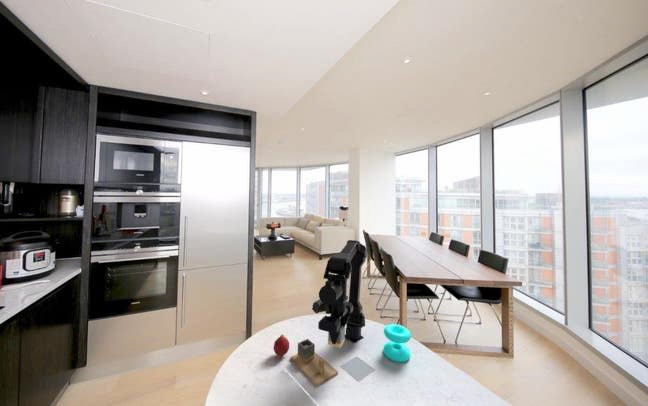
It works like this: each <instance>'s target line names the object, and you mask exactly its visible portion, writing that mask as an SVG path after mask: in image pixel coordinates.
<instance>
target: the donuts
mask: <svg viewBox="0 0 648 406" xmlns="http://www.w3.org/2000/svg"><path fill="white" fill-rule="evenodd" d="M383 333H384V336H385V338H386V339H388V341H387V342H385V344H384V345H383V348H382V350H383V354H384V355H385V356H386V357H387V358H388V359H389V360H391V361H393V362H397V363H404V362H407V361H408V360H410V357H411V351H410V349H409V348H408V347H407V346H406V345H405V344H406V343H408V342H409V341H410V340H411V338H412V335H411V332H410V330H409V329H408V328H406V327H405V326H403V325H401V324H396V323H391V324H388V325H386V326H385V327H384V328H383Z"/></svg>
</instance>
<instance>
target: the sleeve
mask: <svg viewBox="0 0 648 406" xmlns="http://www.w3.org/2000/svg"><path fill="white" fill-rule="evenodd" d="M327 333H328V336H327V345H329V346H332V347H337V348H340V349H341V348H342V346H343V344H344V343H345V340H346V338H345V334H346V325H345V326H342V329H341V331H340V334H339V337H338V339H337V342H336V344H332V341H331V337H330V334H329V332H327Z"/></svg>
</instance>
